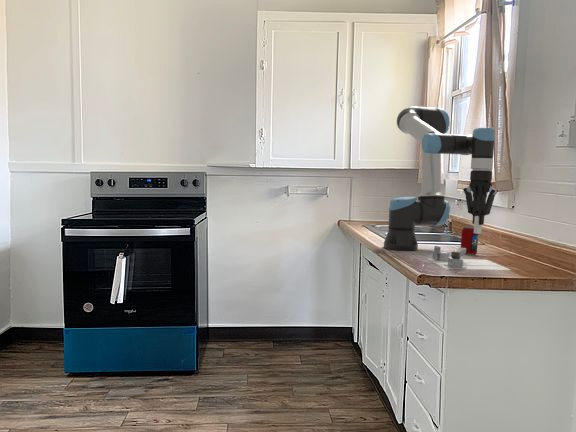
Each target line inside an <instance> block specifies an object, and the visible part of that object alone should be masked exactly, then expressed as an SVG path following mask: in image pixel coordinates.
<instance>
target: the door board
mask: <svg viewBox="0 0 576 432" xmlns="http://www.w3.org/2000/svg"><path fill="white" fill-rule="evenodd" d="M462 259H463V266H465V267H467V268H466V269H465V268H449V267H447V266H445V265H444V264H448V261H436V260H434V259H433V258H428V260H429V261H431V262H433V263H434V264H435V265H438V266H440V267H441V268H443V269H445V270H480V271H481V270H484V271H486V270H488V271H489V270H492V271H499V270H500V271H511V269H510V268H507V267H505V266H503V265H500V264H498V263H495V262H494V261H490V260H488V259H474V258H473V259H471V258H470V259H469V258H468V259H467V258H466V259H465V258H462Z"/></svg>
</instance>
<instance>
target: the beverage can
mask: <svg viewBox="0 0 576 432" xmlns="http://www.w3.org/2000/svg"><path fill="white" fill-rule="evenodd" d="M478 241H479V234H476V233H474V225H473V226H472V225H471V226H470V225H465V226H463V228H462V229H461V237H460V248H466V253H465V254H471V255H477V254H478Z"/></svg>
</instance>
